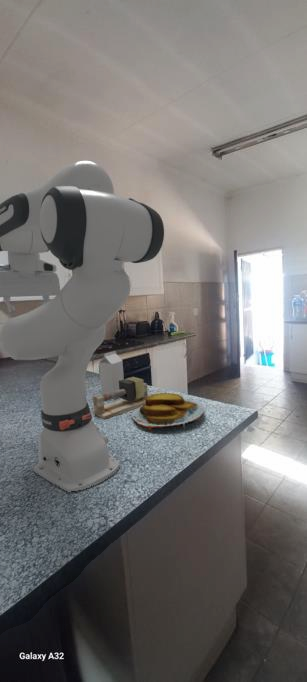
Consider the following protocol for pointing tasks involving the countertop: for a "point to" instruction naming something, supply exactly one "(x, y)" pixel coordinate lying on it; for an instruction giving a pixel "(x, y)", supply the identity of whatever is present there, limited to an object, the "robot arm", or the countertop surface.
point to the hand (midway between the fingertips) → (28, 311)
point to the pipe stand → (116, 403)
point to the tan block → (137, 387)
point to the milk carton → (110, 372)
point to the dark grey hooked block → (129, 387)
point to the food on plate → (167, 411)
